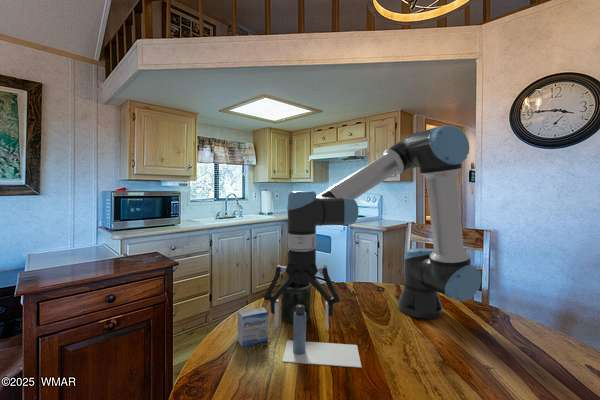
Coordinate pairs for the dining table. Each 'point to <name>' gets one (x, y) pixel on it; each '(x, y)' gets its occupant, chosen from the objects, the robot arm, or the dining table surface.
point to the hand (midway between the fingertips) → (301, 326)
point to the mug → (295, 300)
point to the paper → (324, 354)
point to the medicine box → (252, 326)
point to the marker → (299, 330)
